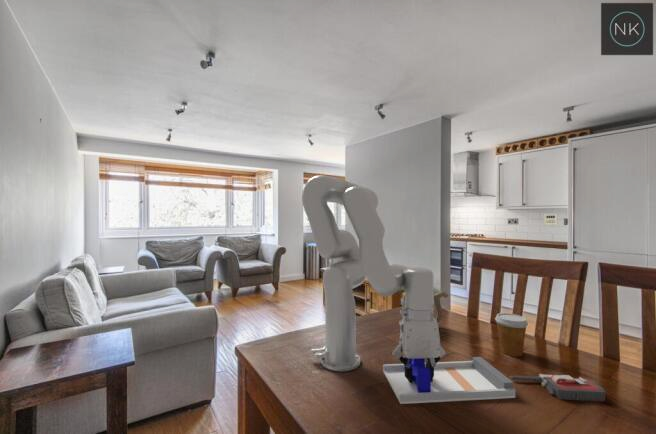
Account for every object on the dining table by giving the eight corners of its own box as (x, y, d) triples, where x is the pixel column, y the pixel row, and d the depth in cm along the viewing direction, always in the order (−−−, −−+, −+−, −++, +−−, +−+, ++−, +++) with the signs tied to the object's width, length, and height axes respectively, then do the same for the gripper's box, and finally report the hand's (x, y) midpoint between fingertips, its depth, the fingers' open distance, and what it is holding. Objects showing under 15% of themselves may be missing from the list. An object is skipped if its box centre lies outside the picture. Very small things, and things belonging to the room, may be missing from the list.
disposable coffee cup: (525, 349, 103) (525, 314, 103) (530, 361, 94) (530, 323, 94) (494, 344, 107) (493, 311, 107) (496, 355, 98) (496, 319, 98)
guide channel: (400, 403, 72) (400, 389, 72) (383, 371, 88) (383, 359, 88) (515, 397, 75) (515, 383, 75) (478, 367, 90) (478, 355, 90)
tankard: (403, 332, 118) (403, 295, 118) (397, 321, 130) (397, 287, 131) (454, 333, 117) (454, 295, 117) (443, 322, 130) (443, 288, 130)
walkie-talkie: (585, 384, 82) (509, 380, 84) (585, 368, 82) (509, 364, 84) (612, 404, 73) (527, 399, 75) (612, 386, 73) (527, 381, 75)
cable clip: (407, 369, 87) (407, 349, 87) (423, 370, 86) (423, 350, 86) (412, 393, 75) (412, 369, 75) (430, 395, 74) (430, 371, 74)
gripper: (392, 318, 77) (392, 389, 76) (455, 317, 78) (456, 386, 78) (384, 309, 84) (385, 373, 84) (442, 308, 85) (442, 371, 85)
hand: (419, 379), depth 81 cm, fingers closed on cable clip, 5 cm apart
